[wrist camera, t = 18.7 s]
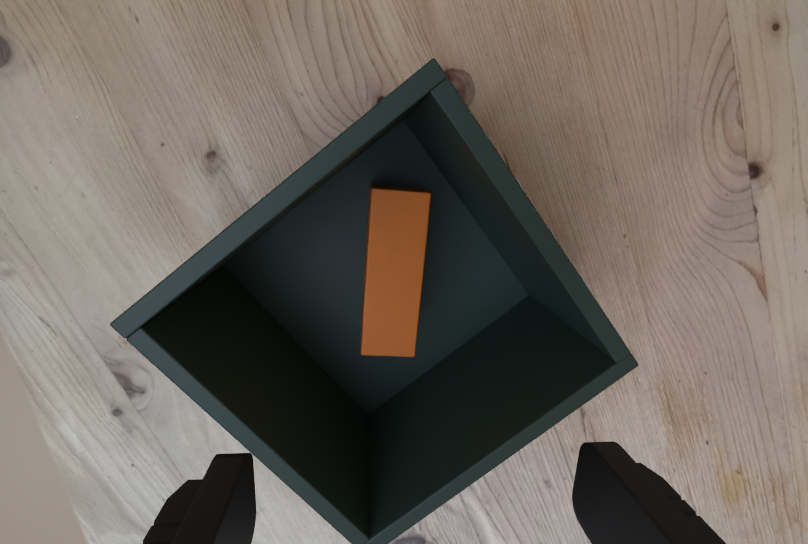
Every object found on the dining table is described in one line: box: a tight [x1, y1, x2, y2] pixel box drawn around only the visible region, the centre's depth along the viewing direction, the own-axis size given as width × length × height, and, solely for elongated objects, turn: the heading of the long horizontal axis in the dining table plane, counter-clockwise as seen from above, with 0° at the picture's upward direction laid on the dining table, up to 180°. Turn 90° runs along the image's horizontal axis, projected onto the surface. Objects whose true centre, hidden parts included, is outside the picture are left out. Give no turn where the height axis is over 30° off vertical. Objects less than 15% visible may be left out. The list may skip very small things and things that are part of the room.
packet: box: [361, 183, 431, 357], centre depth 24 cm, size 3×5×9 cm
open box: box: [110, 58, 638, 544], centre depth 22 cm, size 16×16×11 cm
